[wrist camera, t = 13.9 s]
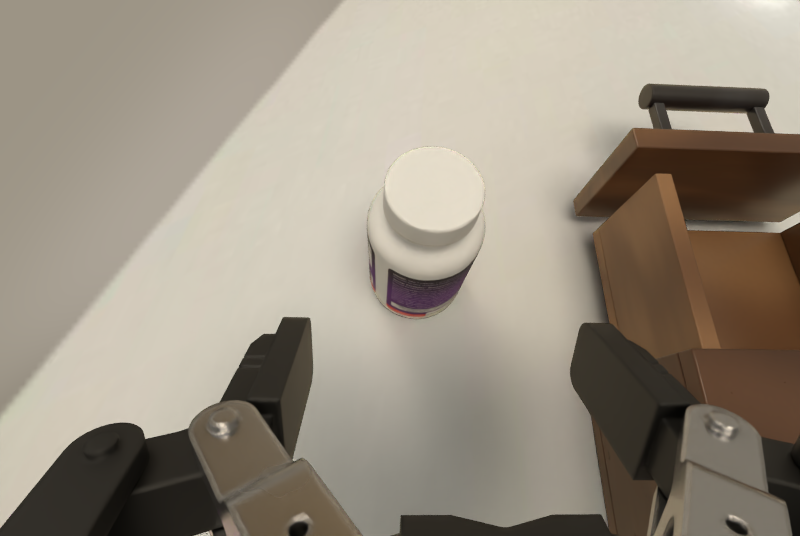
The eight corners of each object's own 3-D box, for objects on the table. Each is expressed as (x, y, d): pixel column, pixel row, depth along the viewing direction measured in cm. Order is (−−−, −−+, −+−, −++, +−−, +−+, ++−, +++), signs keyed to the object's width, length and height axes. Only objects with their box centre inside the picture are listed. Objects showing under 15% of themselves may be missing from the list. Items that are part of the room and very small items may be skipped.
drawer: (560, 133, 29) (612, 48, 22) (748, 140, 29) (850, 59, 23) (608, 405, 22) (700, 392, 16) (850, 407, 23) (1033, 396, 16)
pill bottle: (477, 280, 25) (532, 192, 16) (413, 339, 24) (434, 279, 15) (415, 221, 27) (435, 109, 18) (351, 273, 25) (336, 181, 16)
